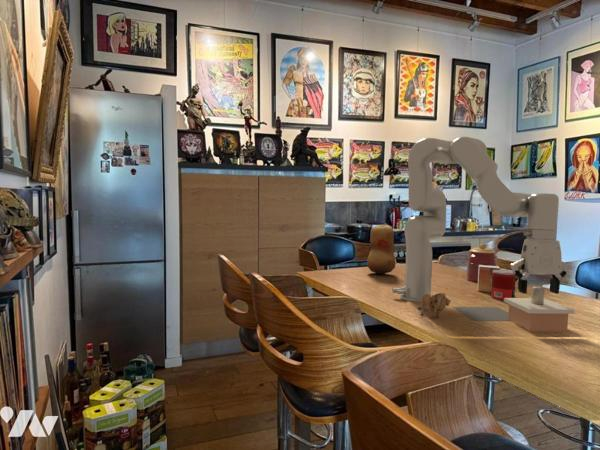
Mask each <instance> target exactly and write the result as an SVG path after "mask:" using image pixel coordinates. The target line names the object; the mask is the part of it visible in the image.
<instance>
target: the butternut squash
mask: <svg viewBox="0 0 600 450" xmlns="http://www.w3.org/2000/svg"><path fill="white" fill-rule="evenodd" d="M394 235H395V231H394V229H393V227H392V225H391V226H390V225H389V224H377V225H375V226H373V227H372V228H371V229H370V238H369V239H370V240H369V242H370V250H369V254H368V256H367V260H366V263H367V268H368V269H369V270H370V271H371V272H372V273H374V274H377V275H382V276H383V275H386V274H389V273H392V271H393V270H394V269H395V268H396V257H395V254H394V248H395V242H394V241H395V239H394V238H395V237H394Z"/></svg>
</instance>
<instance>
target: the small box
mask: <svg viewBox="0 0 600 450" xmlns="http://www.w3.org/2000/svg"><path fill="white" fill-rule="evenodd" d="M493 270H501V267H500V266H499V265H497V266H486V265H479V269H478V282H477V291H478V292H486V293H491V291H492V272H493Z"/></svg>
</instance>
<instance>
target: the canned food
mask: <svg viewBox="0 0 600 450" xmlns="http://www.w3.org/2000/svg"><path fill="white" fill-rule="evenodd" d="M516 280H517V277H516V275H515V274H514V273H513V270H508V269H506V270H505V269H500V270H493V272H492V291H491V292H490V293H491V295H490V296H491V299H493V300H494V299H495V300H498V301H503V302H504V298H516V297H515V296H516Z"/></svg>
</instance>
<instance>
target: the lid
mask: <svg viewBox="0 0 600 450" xmlns="http://www.w3.org/2000/svg"><path fill="white" fill-rule="evenodd" d="M545 290H546V289H545V287H542V286H538V285H537V286H534V285H533V286H531V297H523V298H522V297H515V298H504V301H503V302H504V303H506V304H508V305H509V304H510V305H512V306H514V307H516V308H519V309H521V310H523V311H525V312H527V313H537V314H568V315H572V314H573V315H574V314H575V309H573V308H570V307H569V306H566V305H564V304H560V303H557V302H555V301H553V300H550V299H548V298H545Z"/></svg>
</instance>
